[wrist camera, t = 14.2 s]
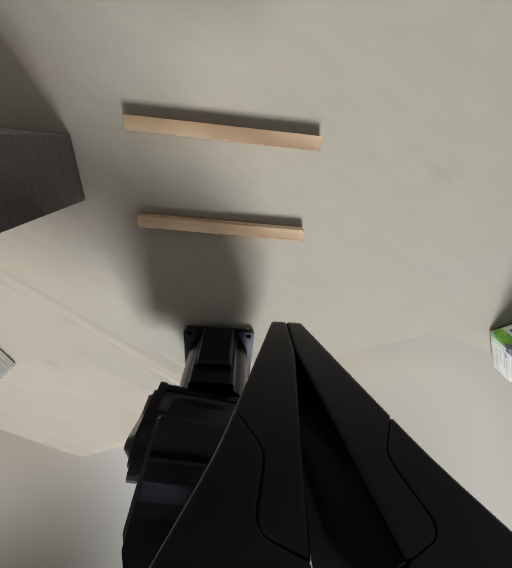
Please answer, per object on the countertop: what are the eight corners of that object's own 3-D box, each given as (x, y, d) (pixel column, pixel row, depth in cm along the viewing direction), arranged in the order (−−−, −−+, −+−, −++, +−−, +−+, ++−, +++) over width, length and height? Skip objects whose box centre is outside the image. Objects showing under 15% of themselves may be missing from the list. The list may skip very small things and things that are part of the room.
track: (300, 237, 20) (302, 241, 19) (142, 223, 19) (137, 227, 18) (319, 136, 16) (322, 136, 16) (127, 114, 16) (121, 114, 15)
